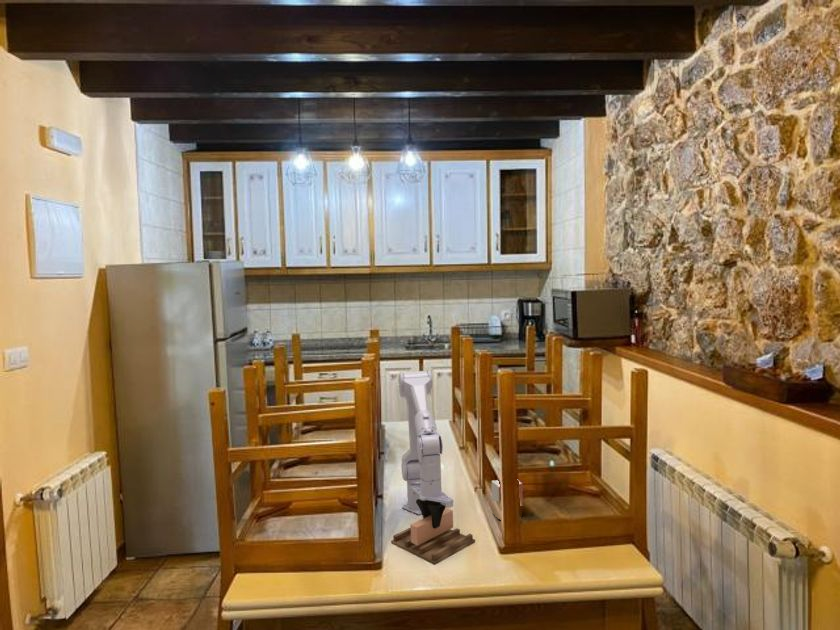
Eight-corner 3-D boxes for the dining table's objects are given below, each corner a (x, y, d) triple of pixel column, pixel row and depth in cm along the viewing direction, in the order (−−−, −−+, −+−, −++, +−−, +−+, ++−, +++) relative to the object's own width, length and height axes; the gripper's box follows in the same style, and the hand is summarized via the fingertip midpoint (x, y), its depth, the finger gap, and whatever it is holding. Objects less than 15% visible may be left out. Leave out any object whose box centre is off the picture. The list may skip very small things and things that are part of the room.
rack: (431, 523, 168) (431, 516, 168) (475, 541, 156) (475, 534, 156) (391, 542, 157) (390, 535, 157) (434, 564, 145) (434, 556, 145)
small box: (498, 521, 168) (498, 487, 167) (491, 513, 173) (490, 480, 172) (523, 517, 170) (522, 483, 169) (515, 509, 175) (514, 476, 174)
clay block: (446, 524, 162) (446, 507, 162) (453, 527, 160) (452, 510, 160) (411, 542, 153) (410, 524, 152) (417, 545, 151) (416, 527, 150)
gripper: (402, 475, 157) (404, 522, 159) (439, 488, 147) (441, 539, 148) (420, 468, 162) (422, 513, 164) (457, 480, 152) (459, 529, 153)
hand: (432, 525), depth 156 cm, fingers closed on clay block, 2 cm apart
